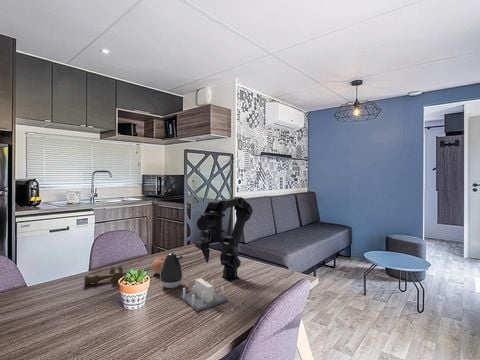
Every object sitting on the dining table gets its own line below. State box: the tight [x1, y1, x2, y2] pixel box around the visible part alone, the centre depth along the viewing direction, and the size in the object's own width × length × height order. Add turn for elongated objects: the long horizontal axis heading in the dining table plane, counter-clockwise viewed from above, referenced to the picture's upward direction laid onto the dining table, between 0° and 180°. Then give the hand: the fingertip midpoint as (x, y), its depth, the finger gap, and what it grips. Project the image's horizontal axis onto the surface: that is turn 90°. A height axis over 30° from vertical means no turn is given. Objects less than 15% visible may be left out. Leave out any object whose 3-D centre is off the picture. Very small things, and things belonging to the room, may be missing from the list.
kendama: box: [83, 265, 128, 287], centre depth 126 cm, size 6×10×20 cm
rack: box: [180, 279, 228, 312], centre depth 110 cm, size 15×14×5 cm
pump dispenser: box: [159, 252, 184, 289], centre depth 122 cm, size 10×10×15 cm
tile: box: [194, 277, 213, 303], centre depth 110 cm, size 2×10×6 cm, turn 39°
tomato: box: [151, 256, 166, 275], centre depth 138 cm, size 11×11×8 cm
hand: (215, 260), depth 123 cm, fingers open, 9 cm apart
